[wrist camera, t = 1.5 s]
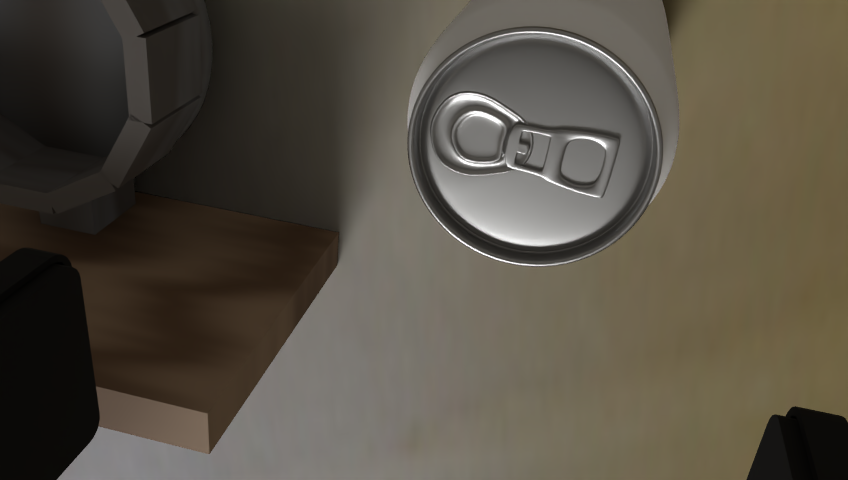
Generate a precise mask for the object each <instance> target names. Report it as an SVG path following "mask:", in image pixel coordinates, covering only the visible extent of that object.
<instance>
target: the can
mask: <svg viewBox="0 0 848 480" xmlns="http://www.w3.org/2000/svg"><path fill="white" fill-rule="evenodd" d="M678 136H679V101H678V92H677V84H676V77H675V69H674V62H673V56H672V49H671V42H670V36H669V30H668V24H667V18H666V13H665V9H664V5H663V1H662V0H471V1H470V2H469V3H468V4H467V5H466V7H465V8H464V9H463V10H462V11H461V12H460V13H459V14H458V15H457V17H456V18H455V19H454V20H453V21H452V22H451V23H450V24H449V26H448V27H447V28H446V29H445V30H444V31H443V33H442V34H441V35H440V36H439V38H438V39H437V40H436V42H435V43H434V44H433V46H432V47H431V48H430V50H429V51H428V53H427V55H426V56H425V58H424V60H423V62H422V64H421V66H420V68H419V70H418V73H417V75H416V78H415V81H414V84H413V87H412V90H411V95H410V100H409V106H408V158H409V165H410V169H411V173H412V177H413V180H414V183H415V185H416V188H417V190H418V193H419V195H420V197H421V198H422V200H423V202H424V204H425V205H426V207H427V208H428V210H429V211H430V213H431V214H432V215H433V217H434V218H435V219H436V220H437V222H438V223H439V224H440V225H441V226H442V227H443V228H444V229H445V230H446V231H447V232H448V233H449V234H451V235H452V236H453V237H454V238H456V239H457V240H458V241H460V242H461V243H462V244H464V245H465V246H467V247H469V248H470V249H472V250H474V251H476V252H478V253H480V254H482V255H484V256H487V257H489V258H492V259H495V260H498V261H501V262H505V263H509V264H514V265H520V266H531V267H546V266H557V265H563V264H568V263H572V262H576V261H579V260H582V259H585V258H587V257H590V256H592V255H594V254H596V253H598V252H600V251H602V250H604V249H606V248H607V247H609V246H610V245H612V244H613V243H615V242H616V241H617V240H619V239H620V238H621V237H622V236H624V235H625V234H626V233H627V232H628V231H629V230H630V229H631V228H632V227H633V226H634V225H635V223H636V222H637V221H638V220H639V219H640V217H641V216H642V214H643V213H644V212H645V210H646V208H647V207H648V205H649V204H650V203H651V202H652V200H653V199H654V198H655V196H656V195H657V193H658V192H659V190H660V189H661V187H662V185H663V184H664V182H665V180H666V178H667V176H668V173H669V171H670V169H671V166H672V163H673V160H674V156H675V152H676V148H677V142H678Z"/></svg>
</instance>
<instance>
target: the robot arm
mask: <svg viewBox="0 0 848 480" xmlns="http://www.w3.org/2000/svg"><path fill="white" fill-rule="evenodd" d="M99 420H100V412H99V405H98V397H97V390H96V383H95V376H94V369H93V362H92V355H91V348H90V340H89V333H88V326H87V319H86V312H85V305H84V298H83V291H82V284H81V277H80V274H79V272H78V270H77V269H75V268H73V267H72V265H71V262H70V260H69V259H68V258H67V257H66V256H64V255H62V254H57V253H53V252H48V251H43V250H38V249H33V248H21V249H19V250H16V251H15V252H13V253H12V254H10V255H9V256H8V257H6V258H5V259H3V260H2V261H0V480H57V479H58V477H59V476H60V475H61V474H62V473H63V472H64V471H65V470H66V468H67V467H68V466H69V465H70V464H71V463H72V462H73V461H74V459H75V458H76V457H77V456H78V455H79V454H80V453H81V452H82V450H83V449H84V448H85V447H86V446H87V445H88V444H89V443H90V441H91V440H92V439H93V437H94V435H95V433H96V431H97V429H98V426H99ZM747 480H848V422H847V420H846V418H844V417H842V416H839V415H834V414H829V413H825V412H820V411H815V410H810V409H805V408H800V407H796V406H795V407H792V408H791V409H790V410H789V411H788V413H787V415H786V417H785V416H780V415H772V417H771V418H770V419H769V422H768V424H767V426H766V429H765V432H764V434H763V437H762V440H761V442H760V445H759V448H758V450H757V453H756V456H755V458H754V461H753V464H752V467H751V469H750V472H749V475H748V477H747Z"/></svg>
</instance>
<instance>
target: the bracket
mask: <svg viewBox="0 0 848 480" xmlns="http://www.w3.org/2000/svg"><path fill="white" fill-rule="evenodd" d="M212 50H213V47H212V36H211V26H210V22H209V17H208V12H207V7H206V4H205V1H204V0H0V261H2V260H3V259H5V258H6V257H8V256H9V255H10V254H12V253H13V252H15V251H16V250H19V249H21V248H33V249H38V250H43V251H48V252H53V253H57V254H62V255H64V256H66V257H67V258H68V259H69V260H70V262H71V265H72V267H73V268H75V269H77V270H78V272H79V274H80V277H81V284H82V291H83V298H84V305H85V312H86V319H87V326H88V333H89V340H90V348H91V355H92V362H93V369H94V376H95V383H96V390H97V397H98V405H99V412H100V420H99V426H100V427H104V428H108V429H111V430H115V431H119V432H123V433H127V434H131V435H135V436H139V437H143V438H147V439H151V440H155V441H159V442H163V443H167V444H171V445H175V446H179V447H183V448H187V449H191V450H195V451H199V452H203V453H207V454H210V453H211V451H212V450H213V448H214V447H215V445H216V444H217V442H218V441H219V439H220V438H221V436H222V435H223V433H224V432H225V430H226V429H227V427H228V426H229V424H230V423H231V422H232V420H233V419H234V417H235V416H236V414H237V413H238V411H239V410H240V408H241V407H242V405H243V404H244V402H245V401H246V399H247V398H248V396H249V395H250V393H251V392H252V390H253V389H254V387H255V386H256V385H257V383H258V382H259V380H260V379H261V377H262V376H263V374H264V373H265V371H266V370H267V368H268V367H269V365H270V364H271V362H272V361H273V359H274V358H275V356H276V355H277V353H278V352H279V350H280V349H281V348H282V346H283V345H284V343H285V342H286V340H287V339H288V337H289V336H290V334H291V333H292V331H293V330H294V328H295V327H296V325H297V324H298V322H299V321H300V319H301V318H302V316H303V315H304V313H305V312H306V311H307V309H308V308H309V306H310V305H311V303H312V302H313V300H314V299H315V297H316V296H317V294H318V293H319V291H320V290H321V288H322V287H323V285H324V284H325V282H326V281H327V279H328V278H329V276H330V275H331V274H332V272H333V271H334V269H335V268H336V266H337V260H338V240H339V232H334V231H329V230H324V229H319V228H314V227H309V226H304V225H299V224H294V223H289V222H284V221H279V220H274V219H269V218H264V217H259V216H254V215H249V214H244V213H239V212H234V211H229V210H224V209H219V208H214V207H209V206H204V205H199V204H194V203H189V202H184V201H179V200H174V199H169V198H164V197H159V196H154V195H149V194H144V193H139V192H135V189H134V177H136V176H137V175H139V174H140V173H142V172H143V171H144V170H146V169H147V168H149V167H150V166H151V165H153V164H154V163H156V162H157V161H158V160H160V159H161V158H163V157H164V156H166V155H167V154H168V153H169V152H170V151H171V149H172V147H173V146H174V144H175V142H176V140H177V139H178V138H179V137H180V136H181V135H182V134H183V133H184V132H185V131H186V130H187V129H188V128H189V126H190V125H191V124H192V122H193V121H194V119H195V118H196V116H197V114H198V112H199V110H200V108H201V106H202V104H203V102H204V99H205V96H206V93H207V90H208V86H209V82H210V76H211V70H212Z"/></svg>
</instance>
